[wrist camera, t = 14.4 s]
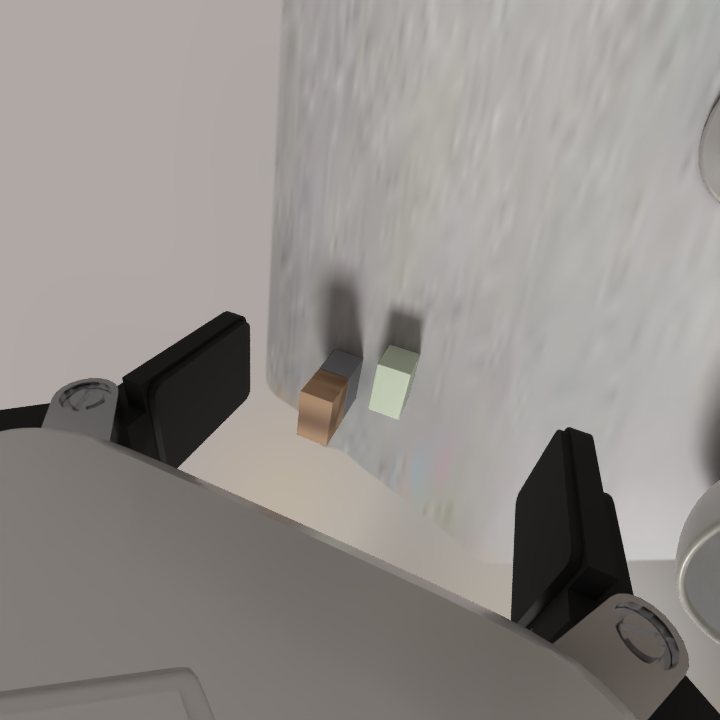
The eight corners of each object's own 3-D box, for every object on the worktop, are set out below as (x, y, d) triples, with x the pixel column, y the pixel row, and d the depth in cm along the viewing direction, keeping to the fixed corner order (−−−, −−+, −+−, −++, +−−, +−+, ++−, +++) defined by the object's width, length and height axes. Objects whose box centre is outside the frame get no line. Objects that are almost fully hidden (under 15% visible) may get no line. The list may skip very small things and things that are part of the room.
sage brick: (389, 344, 50) (377, 364, 46) (420, 353, 49) (410, 374, 45) (380, 387, 54) (368, 409, 50) (408, 396, 53) (398, 419, 49)
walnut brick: (319, 368, 50) (300, 391, 46) (349, 379, 49) (332, 402, 45) (314, 410, 54) (296, 434, 50) (341, 420, 53) (326, 446, 49)
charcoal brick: (335, 348, 53) (319, 367, 49) (363, 358, 53) (349, 378, 49) (330, 389, 57) (314, 409, 53) (355, 398, 57) (342, 419, 53)
